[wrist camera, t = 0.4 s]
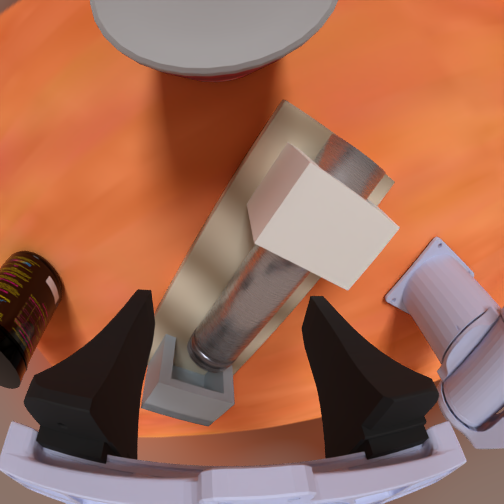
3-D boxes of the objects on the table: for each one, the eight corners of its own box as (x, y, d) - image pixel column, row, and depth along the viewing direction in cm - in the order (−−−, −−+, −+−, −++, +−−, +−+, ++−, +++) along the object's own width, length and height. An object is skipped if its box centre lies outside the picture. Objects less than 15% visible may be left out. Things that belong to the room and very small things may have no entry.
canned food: (305, 40, 16) (389, 3, 6) (205, 107, 18) (184, 130, 8) (234, -40, 12) (247, -134, 3) (134, 28, 14) (49, -16, 5)
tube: (322, 128, 18) (346, 140, 14) (368, 162, 19) (397, 182, 16) (188, 327, 25) (184, 364, 22) (229, 342, 27) (231, 378, 23)
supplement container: (-1, 252, 21) (-59, 325, 12) (46, 241, 21) (-17, 324, 12) (28, 307, 25) (-13, 384, 16) (75, 303, 25) (36, 392, 16)
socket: (165, 333, 26) (158, 382, 21) (231, 357, 28) (234, 403, 24) (148, 363, 28) (141, 407, 23) (208, 383, 30) (208, 426, 26)
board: (282, 99, 18) (285, 100, 17) (388, 177, 21) (394, 182, 20) (134, 352, 28) (133, 359, 28) (220, 381, 32) (220, 388, 31)
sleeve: (287, 141, 18) (310, 162, 14) (363, 193, 21) (399, 227, 16) (246, 204, 20) (254, 243, 16) (323, 246, 23) (347, 290, 18)
